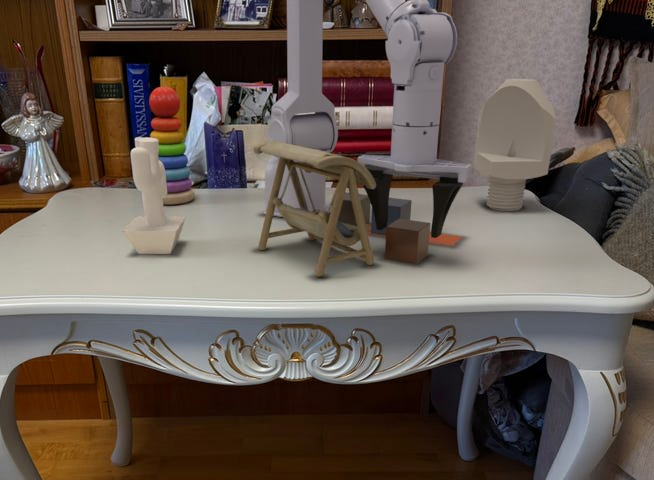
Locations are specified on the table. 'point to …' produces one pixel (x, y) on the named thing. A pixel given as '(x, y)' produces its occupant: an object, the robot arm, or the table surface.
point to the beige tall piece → (514, 140)
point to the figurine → (151, 202)
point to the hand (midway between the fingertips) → (408, 231)
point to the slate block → (393, 213)
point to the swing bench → (315, 221)
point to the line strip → (441, 239)
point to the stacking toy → (171, 145)
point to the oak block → (348, 213)
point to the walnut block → (407, 241)
